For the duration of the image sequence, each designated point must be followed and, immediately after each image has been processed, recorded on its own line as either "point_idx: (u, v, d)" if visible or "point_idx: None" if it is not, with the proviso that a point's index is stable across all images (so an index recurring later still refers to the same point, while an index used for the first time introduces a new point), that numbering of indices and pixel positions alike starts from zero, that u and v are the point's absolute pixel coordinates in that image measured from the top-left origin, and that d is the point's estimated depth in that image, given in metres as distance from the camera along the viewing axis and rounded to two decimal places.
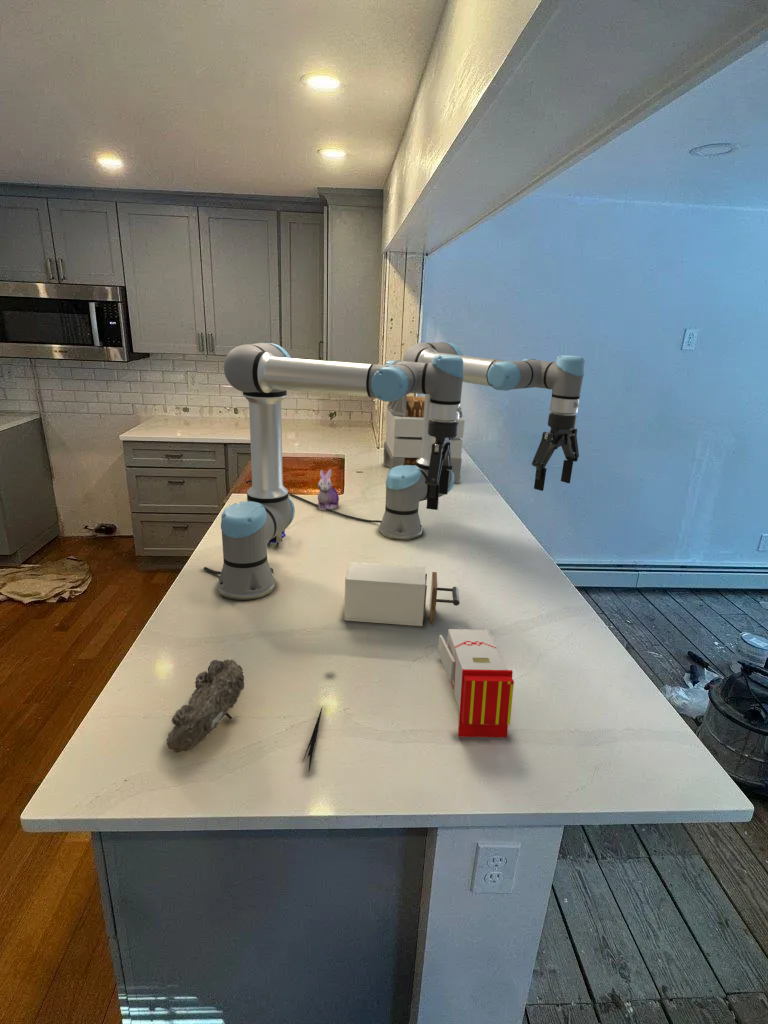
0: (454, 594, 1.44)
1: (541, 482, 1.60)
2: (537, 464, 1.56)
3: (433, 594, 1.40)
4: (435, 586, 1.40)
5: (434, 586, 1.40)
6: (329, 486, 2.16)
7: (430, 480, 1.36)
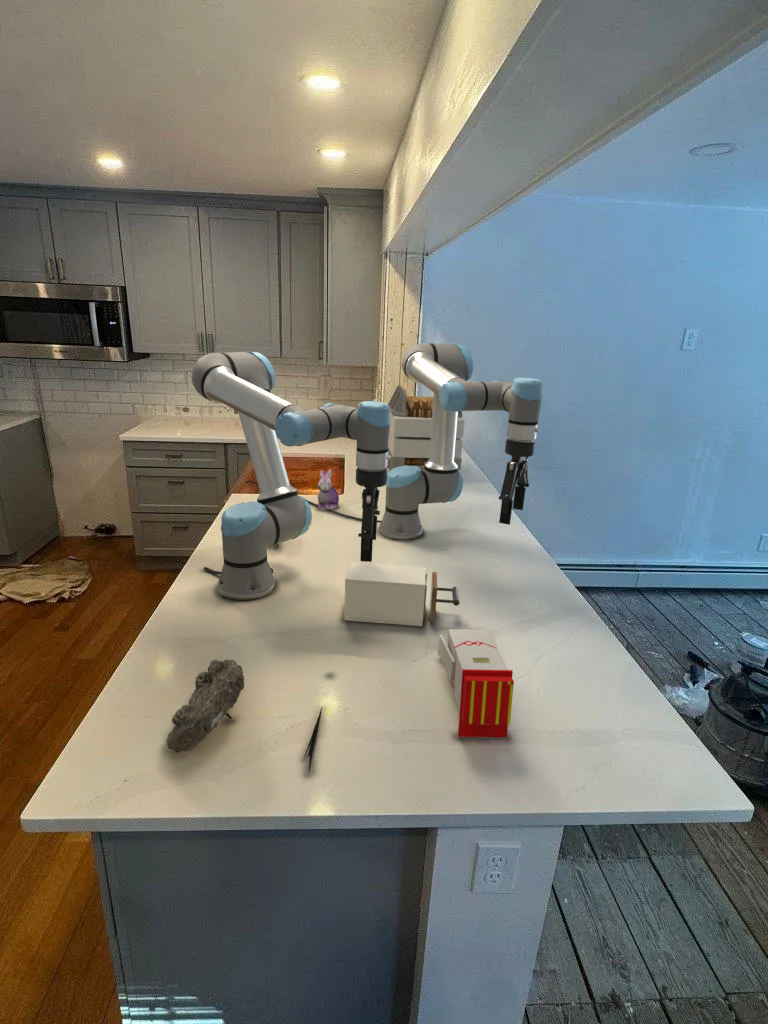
0: (454, 594, 1.44)
1: (508, 515, 1.47)
2: (507, 498, 1.43)
3: (433, 594, 1.40)
4: (435, 586, 1.40)
5: (434, 586, 1.40)
6: (329, 486, 2.16)
7: (364, 533, 1.30)
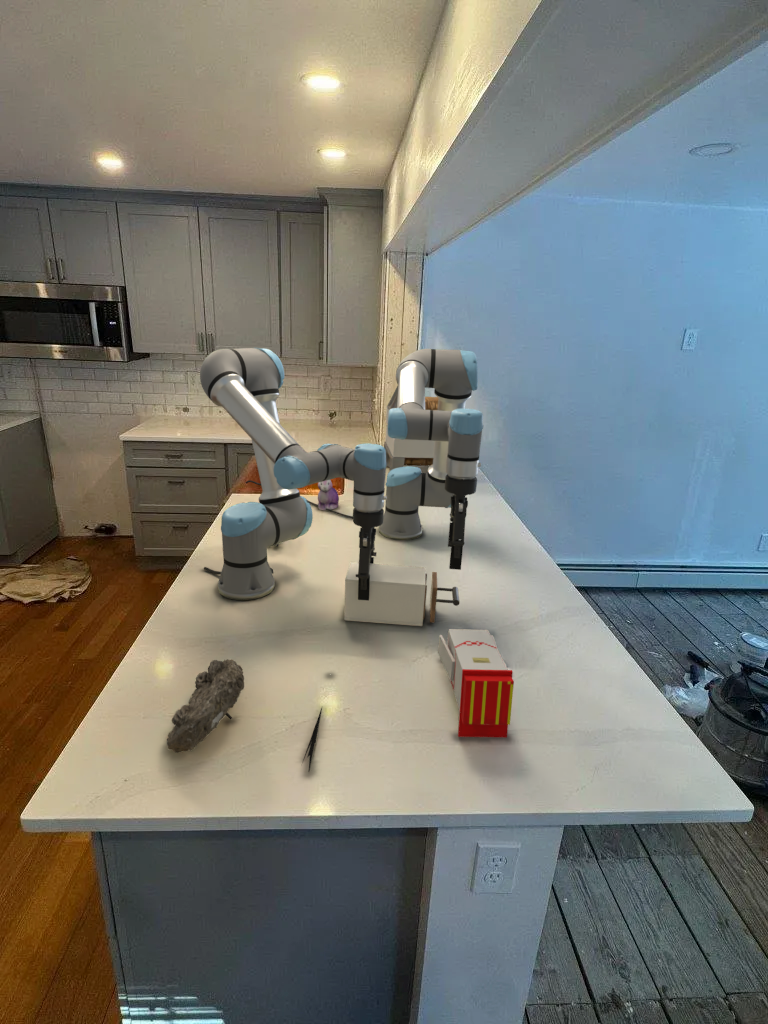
0: (454, 594, 1.44)
1: (459, 560, 1.34)
2: (461, 543, 1.30)
3: (433, 594, 1.40)
4: (435, 586, 1.40)
5: (434, 586, 1.40)
6: (329, 486, 2.16)
7: (361, 574, 1.35)
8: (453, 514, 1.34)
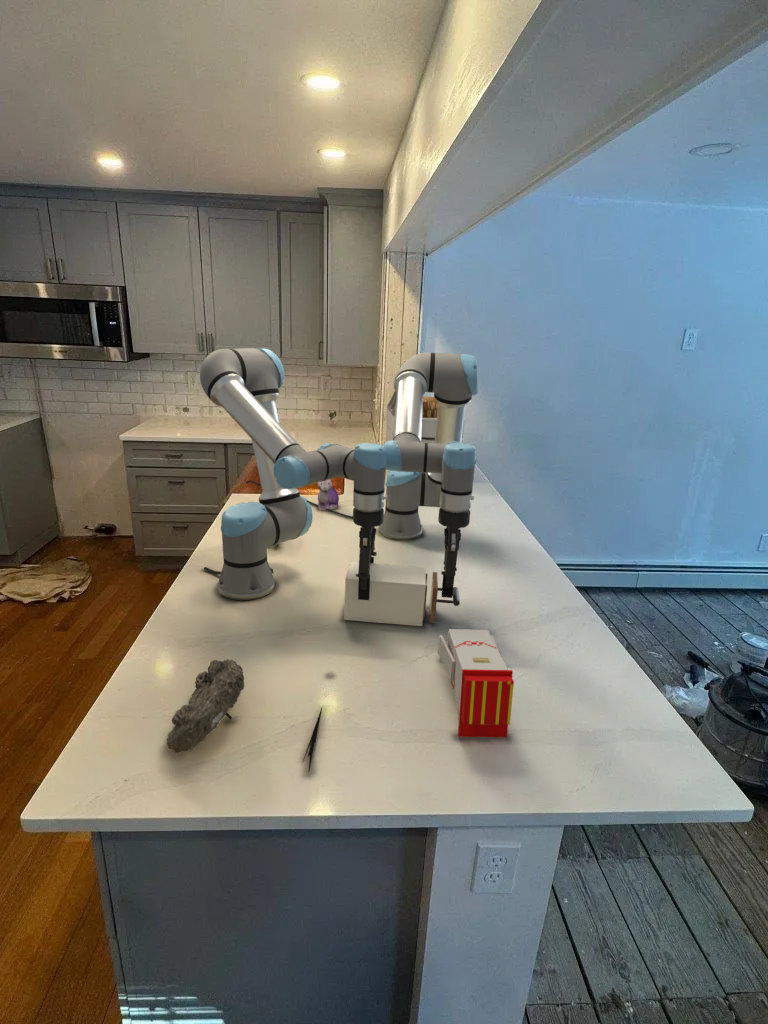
0: (454, 594, 1.44)
1: (451, 589, 1.43)
2: (452, 573, 1.38)
3: (433, 594, 1.40)
4: (436, 587, 1.40)
5: (434, 586, 1.40)
6: (329, 486, 2.16)
7: (361, 574, 1.35)
8: (446, 548, 1.38)
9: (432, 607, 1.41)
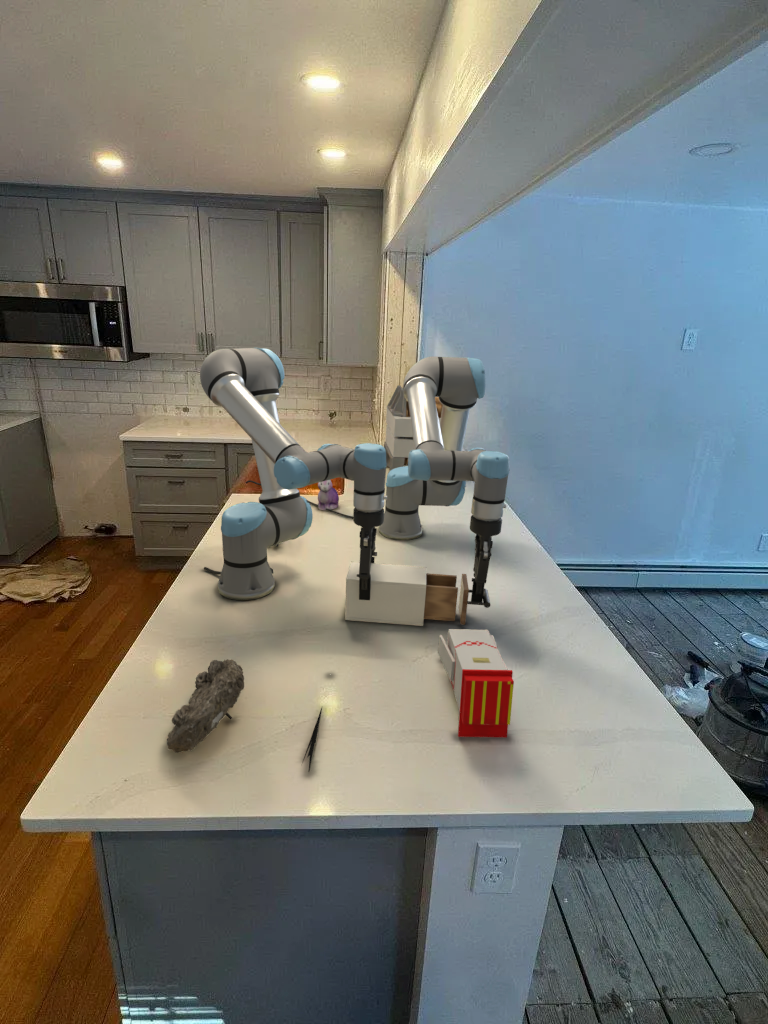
0: (484, 596, 1.43)
1: (481, 596, 1.43)
2: (483, 581, 1.38)
3: (464, 596, 1.39)
4: (466, 588, 1.39)
5: (465, 588, 1.39)
6: (329, 486, 2.16)
7: (362, 574, 1.35)
8: (477, 555, 1.38)
9: (463, 609, 1.41)
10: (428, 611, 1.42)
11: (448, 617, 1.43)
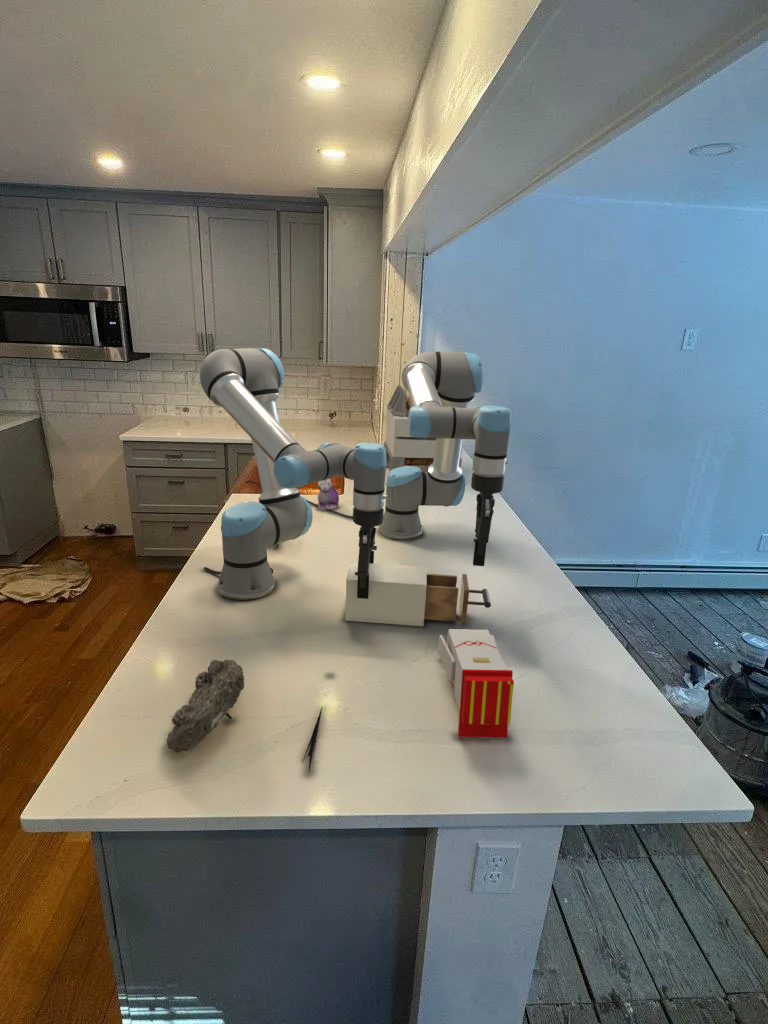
0: (485, 596, 1.43)
1: (483, 557, 1.40)
2: (485, 540, 1.35)
3: (465, 596, 1.39)
4: (467, 589, 1.39)
5: (466, 588, 1.39)
6: (329, 486, 2.16)
7: (360, 573, 1.33)
8: (479, 514, 1.35)
9: (463, 609, 1.41)
10: (428, 611, 1.42)
11: (448, 617, 1.43)
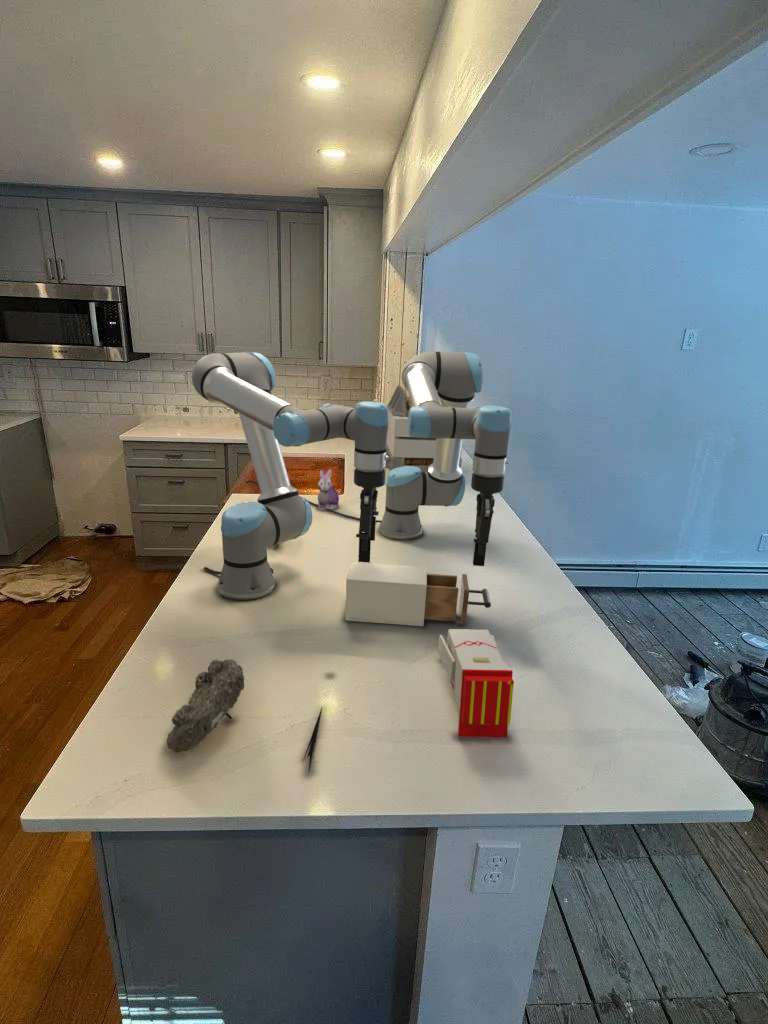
0: (485, 596, 1.43)
1: (483, 557, 1.40)
2: (485, 540, 1.35)
3: (465, 596, 1.39)
4: (467, 589, 1.39)
5: (466, 588, 1.39)
6: (329, 486, 2.16)
7: (362, 534, 1.30)
8: (479, 514, 1.35)
9: (463, 609, 1.41)
10: (428, 611, 1.42)
11: (448, 617, 1.43)
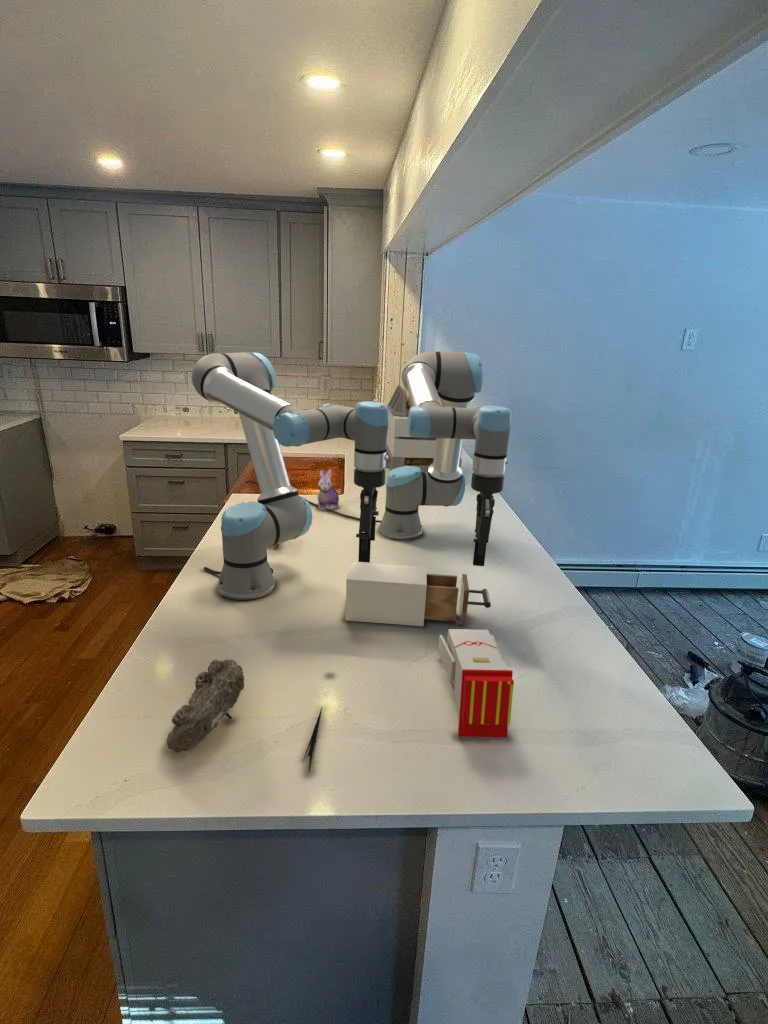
0: (485, 596, 1.43)
1: (483, 557, 1.40)
2: (485, 540, 1.35)
3: (465, 596, 1.39)
4: (467, 589, 1.39)
5: (466, 588, 1.39)
6: (329, 486, 2.16)
7: (362, 534, 1.30)
8: (479, 514, 1.35)
9: (463, 609, 1.41)
10: (428, 611, 1.42)
11: (448, 617, 1.43)
